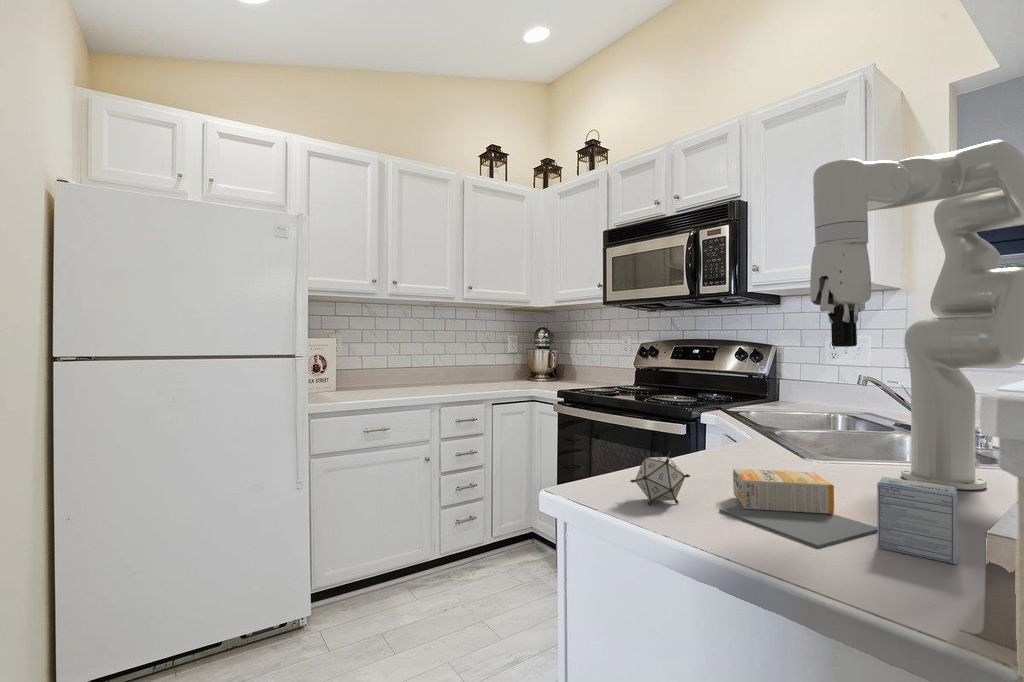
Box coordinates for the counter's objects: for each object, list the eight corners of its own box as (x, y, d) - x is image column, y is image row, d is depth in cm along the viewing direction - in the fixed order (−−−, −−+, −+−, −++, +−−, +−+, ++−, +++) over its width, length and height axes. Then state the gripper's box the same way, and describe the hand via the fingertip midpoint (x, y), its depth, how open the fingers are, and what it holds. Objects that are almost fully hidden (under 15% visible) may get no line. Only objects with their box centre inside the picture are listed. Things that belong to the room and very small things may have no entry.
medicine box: (957, 555, 65) (957, 486, 65) (956, 566, 62) (956, 494, 62) (881, 539, 70) (881, 475, 70) (876, 548, 67) (876, 482, 67)
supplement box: (835, 483, 78) (742, 479, 81) (835, 515, 78) (743, 510, 81) (815, 470, 86) (731, 467, 89) (815, 499, 86) (732, 495, 89)
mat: (778, 500, 87) (778, 497, 87) (880, 531, 73) (880, 528, 73) (719, 511, 81) (719, 509, 81) (818, 548, 67) (818, 545, 67)
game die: (647, 524, 86) (611, 473, 88) (674, 497, 91) (639, 449, 93) (683, 512, 79) (642, 457, 81) (710, 483, 84) (671, 432, 86)
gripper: (844, 242, 93) (847, 344, 93) (791, 239, 86) (794, 348, 87) (890, 235, 86) (893, 344, 87) (836, 230, 79) (840, 348, 80)
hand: (844, 346), depth 87 cm, fingers closed
